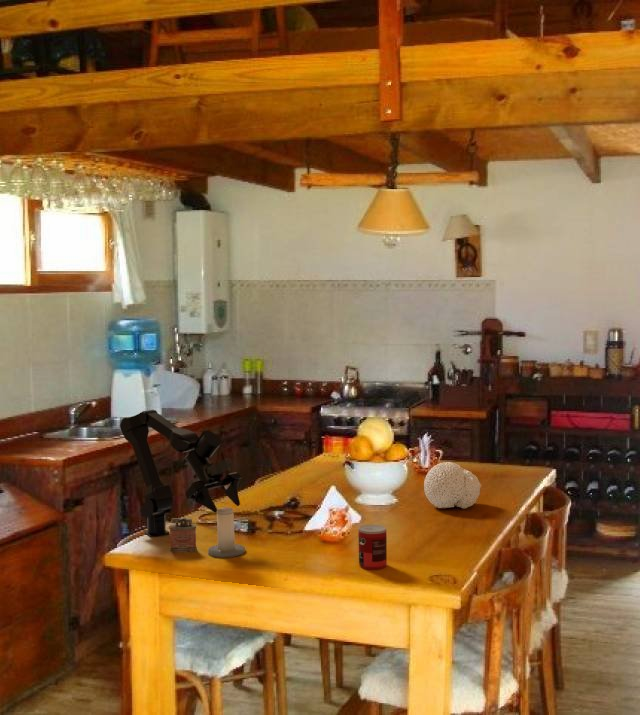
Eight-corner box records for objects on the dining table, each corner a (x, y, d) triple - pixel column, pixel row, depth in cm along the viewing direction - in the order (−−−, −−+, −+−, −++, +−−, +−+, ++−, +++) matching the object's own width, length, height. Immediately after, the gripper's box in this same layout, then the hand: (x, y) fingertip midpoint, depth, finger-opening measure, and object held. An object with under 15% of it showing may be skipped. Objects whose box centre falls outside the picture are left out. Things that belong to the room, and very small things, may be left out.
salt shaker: (217, 547, 294) (216, 507, 292) (234, 546, 294) (233, 507, 293) (218, 551, 289) (216, 512, 288) (235, 550, 289) (233, 511, 288)
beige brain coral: (438, 492, 326) (444, 449, 335) (410, 506, 340) (416, 465, 348) (487, 512, 332) (491, 469, 341) (457, 526, 346) (462, 484, 355)
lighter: (197, 548, 296) (196, 516, 295) (196, 551, 293) (195, 518, 292) (170, 548, 296) (169, 516, 295) (169, 552, 293) (168, 519, 292)
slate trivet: (202, 550, 294) (202, 547, 293) (235, 544, 299) (235, 541, 299) (217, 560, 284) (217, 556, 284) (251, 553, 290) (251, 550, 290)
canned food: (362, 560, 281) (362, 523, 280) (389, 562, 279) (389, 525, 278) (355, 568, 274) (355, 530, 273) (383, 571, 272) (383, 532, 271)
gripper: (190, 455, 285) (217, 498, 279) (236, 446, 299) (263, 486, 293) (173, 478, 291) (199, 521, 285) (219, 467, 305) (245, 508, 299)
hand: (227, 508), depth 290 cm, fingers open, 9 cm apart
